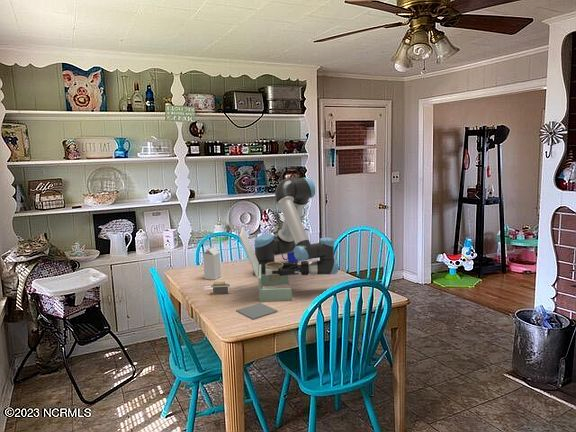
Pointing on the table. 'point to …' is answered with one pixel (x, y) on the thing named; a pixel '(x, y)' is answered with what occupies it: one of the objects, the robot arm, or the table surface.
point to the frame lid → (249, 251)
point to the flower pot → (274, 266)
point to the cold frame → (273, 294)
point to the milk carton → (212, 263)
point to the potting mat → (257, 311)
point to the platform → (220, 288)
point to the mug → (291, 257)
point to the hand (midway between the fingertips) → (265, 269)
